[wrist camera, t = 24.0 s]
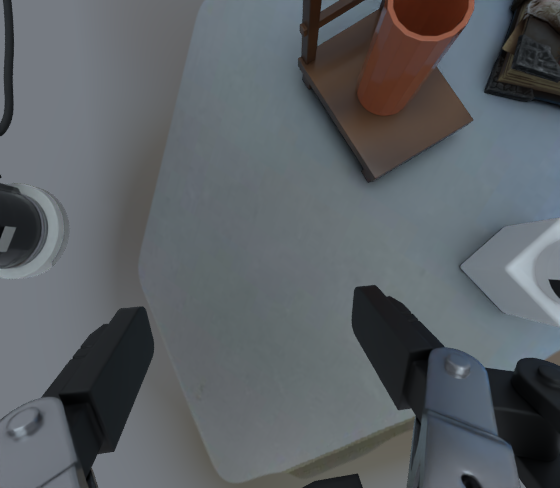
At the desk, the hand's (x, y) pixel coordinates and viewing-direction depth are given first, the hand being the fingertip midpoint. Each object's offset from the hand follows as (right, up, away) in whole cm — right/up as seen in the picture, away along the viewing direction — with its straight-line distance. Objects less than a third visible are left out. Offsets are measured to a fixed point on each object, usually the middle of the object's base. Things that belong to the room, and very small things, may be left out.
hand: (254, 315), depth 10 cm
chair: (+12, +19, +22) cm, 32 cm away
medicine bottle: (+26, 0, +20) cm, 33 cm away
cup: (+12, +20, +19) cm, 30 cm away
